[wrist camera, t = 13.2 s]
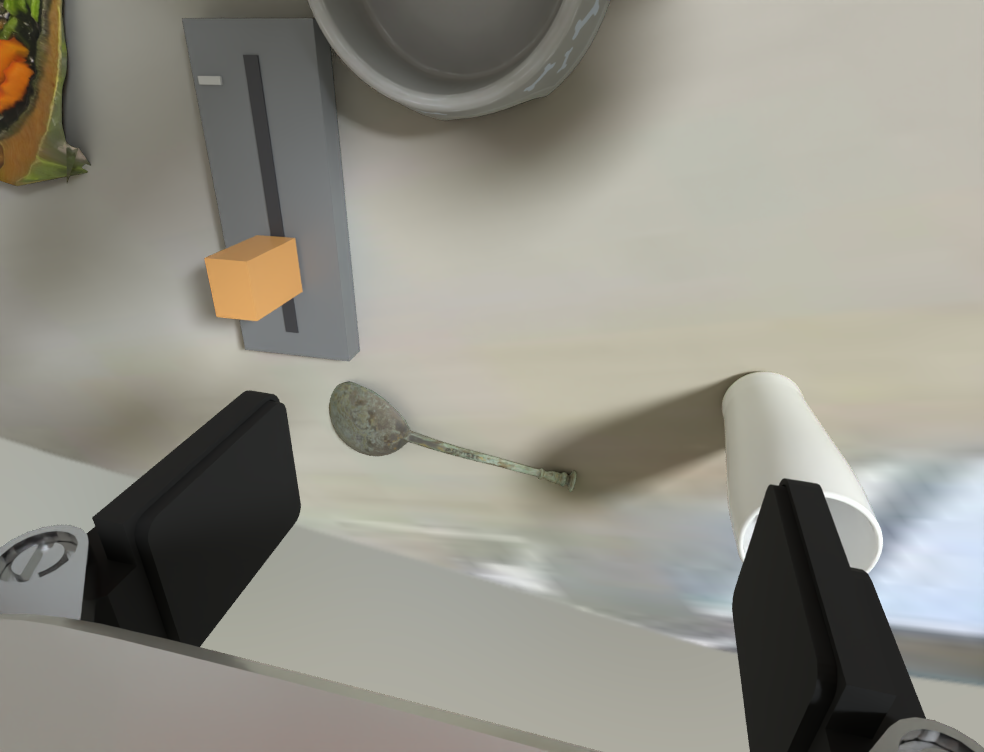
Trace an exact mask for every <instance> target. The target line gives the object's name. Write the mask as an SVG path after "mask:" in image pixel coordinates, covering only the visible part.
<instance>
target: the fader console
mask: <svg viewBox="0 0 984 752" xmlns="http://www.w3.org/2000/svg"><path fill="white" fill-rule="evenodd" d="M182 22H183V27H184V32H185V37H186V42H187V48H188V53H189V58H190V63H191V69H192V74H193V79H194V84H195V89H196V95H197V100H198V105H199V110H200V116H201V121H202V126H203V131H204V136H205V142H206V147H207V152H208V157H209V163H210V168H211V173H212V178H213V183H214V189H215V194H216V199H217V204H218V209H219V215H220V220H221V225H222V230H223V236H224V241H225V246H226V248H229V247H231V246H233V245H236V244H238V243H240V242H242V241H245V240H247V239H249V238H252V237H254V236H256V235H263V236H276V237H290V238H295V240H296V247H297V254H298V262H299V269H300V276H301V284H302V291H303V292H301V293H300V294H298V295H297V296H295V297H294V298H292V299H291V300H289V301H287V302H286V303H284V304H283V305H281V306H280V307H278V308H277V309H275V310H274V311H272V312H271V313H269V314H268V315H266V316H265V317H263V318H261V319H260V320H258V321H250V320H241V319H240V324H241V330H242V335H243V340H244V345H245V349H246V350H255V351H264V352H272V353H281V354H290V355H298V356H307V357H316V358H324V359H333V360H342V361H350V360H351V359H352V358H353V357H354V356H355V355H356V354H357V353H358V352H359V351H360V347H359V337H358V327H357V317H356V306H355V296H354V286H353V275H352V265H351V255H350V245H349V234H348V224H347V214H346V203H345V193H344V183H343V173H342V162H341V152H340V142H339V131H338V121H337V111H336V101H335V90H334V80H333V70H332V60H331V49H330V44H329V42H328V41H327V39H326V37H325V36H324V34H323V32H322V30H321V29H320V27H319V25H318V23H317V21H316V19H315V18H182Z"/></svg>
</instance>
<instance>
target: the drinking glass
mask: <svg viewBox="0 0 984 752" xmlns="http://www.w3.org/2000/svg"><path fill="white" fill-rule="evenodd" d="M722 414H723V419H724V429H725V454H726V486H727V500H728V508H729V515H730V520H731V525H732V529H733V534H734V538H735V541H736V545H737V549H738V553H739V556H740V559H741V560H742V562H744V559H745V556H746V553H747V549H748V546H749V543H750V540H751V537H752V534H753V531H754V527H755V524H756V521H757V518H758V515H759V512H760V508H761V505H762V502H763V499H764V496H765V493H766V490H767V487H768V486H769V485H770V484H772V485H778V486H779V483H780V482H781V480H782V479H784V478H787V479H793V480H799V481H805V482H811V483H817V484H819V485H820V486H821V488H822V490H823V493H824V496H825V499H826V501H827V504H828V507H829V510H830V512H831V515H832V518H833V521H834V523H835V526H836V529H837V532H838V534H839V537H840V540H841V543H842V545H843V548H844V551H845V554H846V557H847V559H848V562H849V565H850V567H852V568H858V569H863V570H864V571H865V572H867V573H869V572H870V571H871V570H872V569H873V567H874V566H875V565H876V563H877V561H878V560H879V557H880V555H881V552H882V546H883V537H882V532H881V528H880V526H879V524H878V521H877V519H876V516H875V514H874V511H873V509H872V507H871V504H870V502H869V500H868V498H867V495H866V493H865V491H864V489H863V487H862V485H861V484H860V482H859V480H858V478H857V476H856V475H855V473H854V471H853V470H852V468H851V467H850V465H849V463H848V462H847V460H846V459H845V458H844V456H843V455H842V453H841V452H840V450H839V449H838V447H837V446H836V445H835V443H834V442H833V440H832V439H831V437H830V436H829V435H828V433H827V432H826V430H825V429H824V427H823V426H822V424H821V423H820V421H819V420H818V419H817V417H816V416H815V414H814V413H813V411H812V410H811V408H810V407H809V405H808V404H807V402H806V400H805V398H804V396H803V394H802V392H801V390H800V389H799V387H798V386H797V385H796V384H795V383H794V382H793V381H792V380H791V379H789V378H788V377H786V376H784V375H781V374H778V373H774V372H766V371H763V372H754V373H751V374H748V375H745V376H743V377H741V378H739V379H738V380H736V381H735V382H734V383H733V384H732V385H731V386H730V387H729V388H728V390H727V391H726V393H725V395H724V398H723V401H722Z"/></svg>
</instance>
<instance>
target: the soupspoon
mask: <svg viewBox="0 0 984 752" xmlns="http://www.w3.org/2000/svg"><path fill="white" fill-rule="evenodd" d="M329 410H330V416H331V420H332V423H333V425H334V427H335V429H336V431H337V433H338V434H339V436H340V437H341V438H342V440H343V441H344V442H345V443H346V444H347V445H349V446H350V447H351V448H353V449H354V450H356V451H357V452H360V453H363V454H366V455H369V456H384V455H388V454H391V453H393V452H396V451H397V450H399V449H400V448H402V447H403V446H404V445H405V444H406V443H407V442H410V443H415V444H418V445H421V446H424V447H427V448H430V449H433V450H437V451H441V452H444V453H447V454H451V455H455V456H459V457H462V458H466V459H471V460H474V461H478V462H482V463H486V464H490V465H494V466H498V467H502V468H506V469H510V470H514V471H517V472H521V473H525V474H530V475H534V476H537V477H538V479H542V478H545V479H547V480H548V481H550V482H554V483H559V484H560V485H561V486H564V485H565V484H567V485H568V489H569V491H570V492H572V490H573V488H574V485H575V481H576V472H575V471H573V472H572V473H571V474H570V475H568V474H567V473H566V472H563V473H561V474H560V473H559V472H558V473H557V472H554V471H549V472H545V471H544V470H543V469H542V468H541V469H535V468H532V467H528V466H525V465H521V464H518V463H514V462H511V461H507V460H504V459H501V458H497V457H493V456H490V455H486V454H483V453H479V452H475V451H471V450H467V449H464V448H460V447H457V446H454V445H451V444H447V443H444V442H441V441H438V440H435V439H432V438H429V437H426V436H424V435H421V434H418V433H415V432H413V431H411V430H410V428H409V426H408V425H407V423H406V421H405V420H404V418H403V417H402V416H401V415H400V414H399V412H398V411H397V410H395V409H394V408H393V407H392V406H391V405H390V404H389V403H388V402H387V401H386V400H385V399H383V398H382V397H381V396H379V395H378V394H376V393H375V392H373V391H372V390H369V389H367V388H364V387H362V386H360V385H358V384H355V383H352V382H346V383H342V384H339V385H338V386H337V387H336V388H335V389H334V391H333V393H332V395H331V398H330V403H329Z"/></svg>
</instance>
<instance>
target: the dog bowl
mask: <svg viewBox="0 0 984 752" xmlns="http://www.w3.org/2000/svg"><path fill="white" fill-rule="evenodd" d="M308 3H309V5H310V8H311V10H312V12H313V15H314V17H315V19H316V21H317V23H318V25H319V27H320V29H321V30H322V32H323V34H324V36H325V37H326V39H327V41H328V42H329V44H330V45H331V46H332V48H333V49H334V51H335V52H336V53H337V54H338V56H339V57H340V58H341V59H342V61H343V62H344V63H345V64H346V65H347V66H348V67H349V68H350V69H351V70H352V71H353V72H354V73H355V74H356V75H357V76H358V77H359V78H360V79H361V80H363V81H364V82H365V83H366V84H367V85H369V86H370V87H372V88H373V89H375V90H376V91H378V92H379V93H381V94H382V95H384V96H386V97H388V98H390V99H392V100H394V101H396V102H398V103H400V104H401V105H403V106H405V107H407V108H409V109H411V110H413V111H415V112H418V113H420V114H422V115H425V116H428V117H431V118H435V119H439V120H443V121H446V120H452V119H463V118H472V117H478V116H483V115H486V114H491V113H495V112H498V111H501V110H504V109H507V108H510V107H512V106H515V105H517V104H520V103H523V102H527V101H529V100H531V99H535V98H539V97H545V96H547V95H549V94H550V93H551V92H552V91H553V90H555V89H556V88H557V87H558V86H559V85H560V84H561V83H562V82H563V81H564V80H565V79H566V78H567V77H568V76H569V74H570V73H571V72H572V71H573V70H574V68H575V67H576V66H577V65H578V63H579V62H580V60H581V59H582V58H583V56H584V55H585V53H586V51H587V50H588V48H589V47H590V45H591V43H592V41H593V39H594V37H595V36H596V34H597V32H598V29H599V27H600V25H601V23H602V21H603V18H604V16H605V13H606V11H607V8H608V6H609V3H610V0H308Z"/></svg>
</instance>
